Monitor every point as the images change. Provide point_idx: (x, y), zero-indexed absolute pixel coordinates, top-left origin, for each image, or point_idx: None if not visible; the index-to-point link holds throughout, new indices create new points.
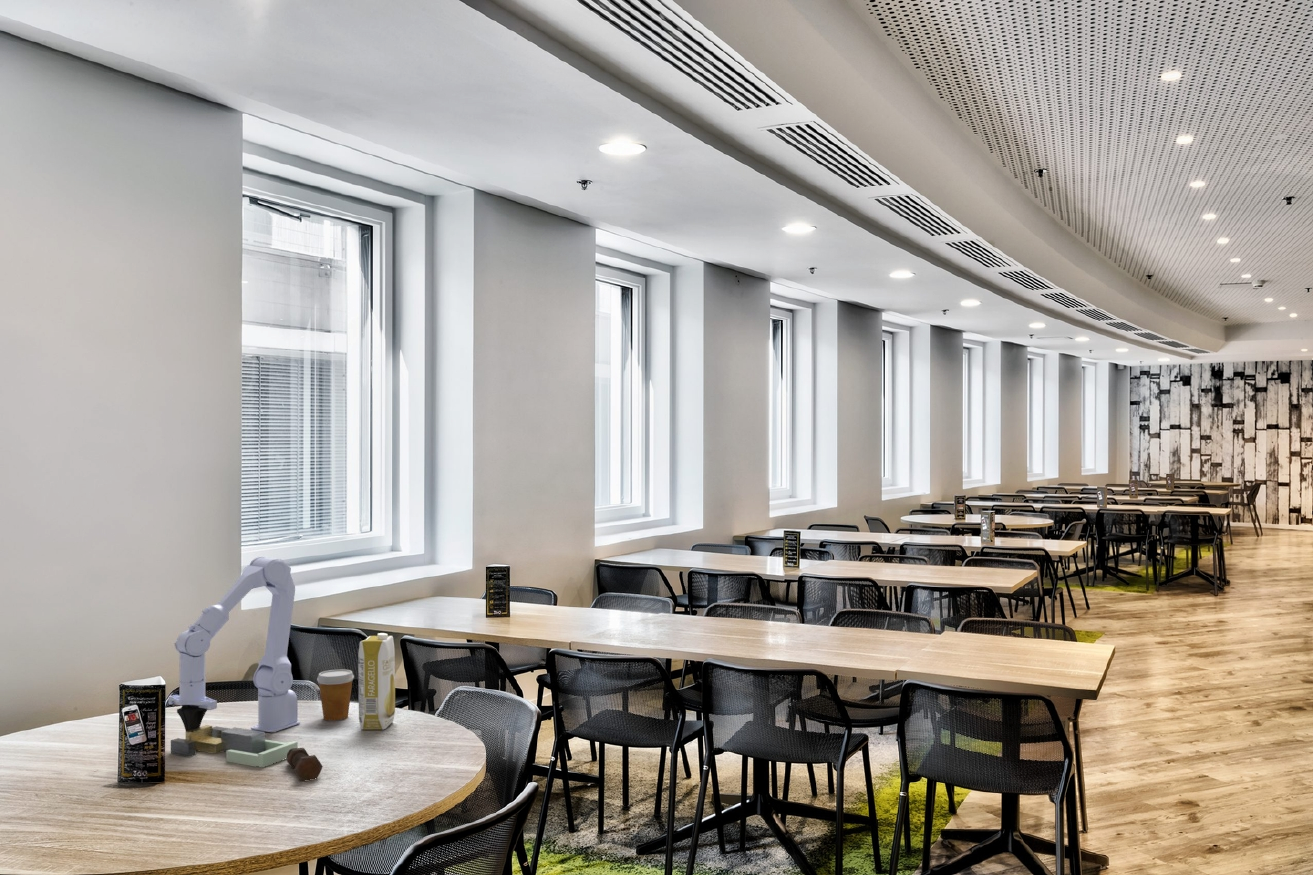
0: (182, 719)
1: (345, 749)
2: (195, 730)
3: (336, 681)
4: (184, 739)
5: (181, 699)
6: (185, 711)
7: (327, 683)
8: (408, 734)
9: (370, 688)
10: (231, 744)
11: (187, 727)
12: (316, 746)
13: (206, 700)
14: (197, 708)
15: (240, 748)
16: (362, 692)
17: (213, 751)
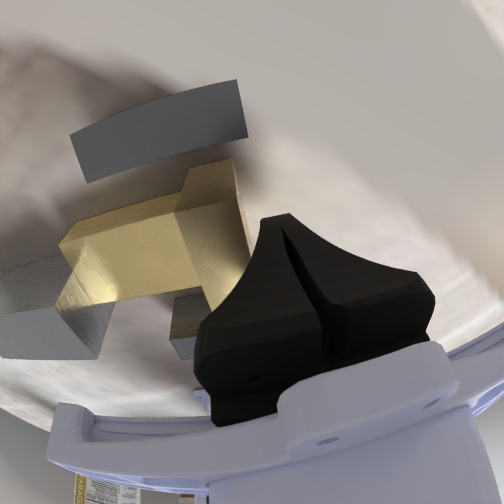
0: (344, 257)
1: (3, 370)
2: (202, 249)
3: (179, 502)
4: (175, 149)
5: (401, 453)
6: (268, 322)
7: (191, 499)
8: (51, 420)
9: (81, 485)
10: (33, 279)
11: (289, 240)
12: (32, 369)
13: (131, 482)
14: (212, 403)
15: (12, 280)
16: (88, 480)
17: (82, 222)
